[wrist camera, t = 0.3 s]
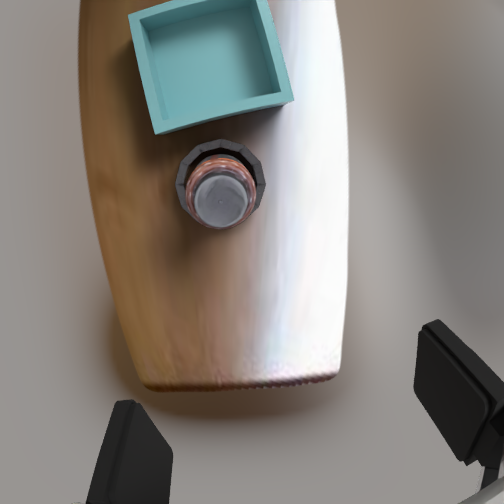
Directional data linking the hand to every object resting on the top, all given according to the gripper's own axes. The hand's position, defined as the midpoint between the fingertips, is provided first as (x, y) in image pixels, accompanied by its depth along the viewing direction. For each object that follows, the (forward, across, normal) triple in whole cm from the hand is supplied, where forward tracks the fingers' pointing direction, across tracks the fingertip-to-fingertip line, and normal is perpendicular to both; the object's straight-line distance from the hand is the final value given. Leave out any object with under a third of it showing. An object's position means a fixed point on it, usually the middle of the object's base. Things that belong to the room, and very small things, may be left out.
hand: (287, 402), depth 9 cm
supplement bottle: (+28, +1, -4) cm, 28 cm away
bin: (+27, -1, -17) cm, 32 cm away
